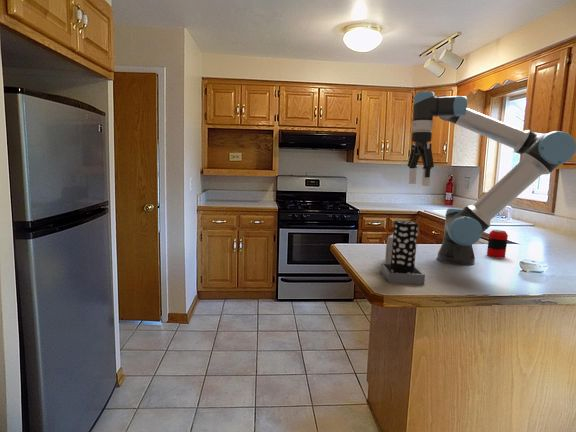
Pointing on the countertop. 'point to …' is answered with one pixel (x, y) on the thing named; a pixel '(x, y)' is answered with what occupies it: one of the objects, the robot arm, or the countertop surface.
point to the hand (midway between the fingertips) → (418, 184)
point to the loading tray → (402, 276)
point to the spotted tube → (404, 247)
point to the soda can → (497, 244)
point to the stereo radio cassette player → (389, 249)
